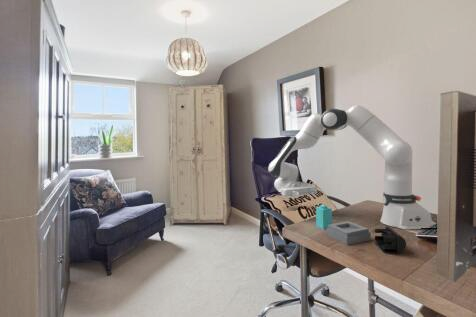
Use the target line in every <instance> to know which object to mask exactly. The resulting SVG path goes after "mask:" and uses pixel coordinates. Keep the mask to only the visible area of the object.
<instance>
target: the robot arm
mask: <svg viewBox="0 0 476 317" xmlns="http://www.w3.org/2000/svg"><path fill="white" fill-rule="evenodd" d="M348 126H349V127H351V128H352V129H353V130H354V131H356V133H357V134H358V135H359V136H361V137H362V138H363V139H364V140H365V141H366V142H367V143H368V144H370V146H371V147H372V149H374V150H375V151H376V152H377V153H378V154H379V155H380V156H381V157H382V158H383V159H384V175H383V177H384V178H383V179H384V180H383V182H384V183H383V184H384V186H383V187H384V191H383V193H382V194H383V195H382V203H383V208H382V209H383V210H382V212H381V214H382V215H381V218H380V222H381V223H382V224H384V225H386V226H388V227H394V228H399V229H402V230H407V231H408V230H409V231H410V230H422V229H421V228H427V227H429V226H431V225H433V224H437V222H435V221H433V220H432V215H431V213H430V211H429V210H427V208H424V206H423V205H421V204H419V203H418V202H420V201H421V200H422V197H421V196H419V195H415V194H413V149H412V148H413V147H412V146H411V144H410V143H408V141H406V140H404V139H403V138H401V137H400V136H399V135H398V134H397V133H396V132H394V130H393V129H391V127H389V126H388V125H387V124H386V123H385V122H383V121H382V120H381V119H380V118H379V117H378V116H377V115H376V114H374V113H373V112H371V111H370V110H369V109H367V108H365V107H364V106H362V105H360V104H355V105H352V106H350V107H349V108H348V109H347V110H344V109H339V108H329V109H326V110H325V111H323V113H322V114H319V113H312V114H310V116H309V117H307V119H306V121H305V122H304V124H303V125H302V127H301V129H300V130H299V131H298V132H297V134H296V135H294V136H292V137H290V138H289V139H288V140H287V141H286V143H285V144H283V146H282V148H281V149H280V151H278V154H276V156H275V157H274V159H272V160H271V162H270V163H268V168H267V171H268V174H269V175H270V176H271V177H272V178H276V179H275V180H274V183H273V185H274V186H273V187H274V189H276V191H277V192H278V193H280V195H282V196H283V197H292V198H296V197H300V196H302V195H311V194H312V195H316V194H318V186H316V185H314V184H311V183H308V182H307V181H298V180H299V177H300V169H299V167H298V165H296V164H293V163H290V162H289V163H288V162H286V160H287V158H288V157H289V156H290V154H291V153H292V152H294V151H299V150H305V149H306V150H307V149H311V148H313V147H314V146H316V144H317V143H318V142H319V140H320V138H321V137H322V134H323V133H324V132H325V130H329V131H340V130H341V131H342V130H343V129H346V128H347V127H348Z"/></svg>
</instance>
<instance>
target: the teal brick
mask: <svg viewBox="0 0 476 317" xmlns="http://www.w3.org/2000/svg"><path fill="white" fill-rule="evenodd" d="M329 224H333V209H332V207H329V206H328V205H326V204H321V205H320V206H316V207H315V225H316V227H318V228H319V229H322V230H325V229H326V228H328V225H329Z"/></svg>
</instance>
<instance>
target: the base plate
mask: <svg viewBox="0 0 476 317" xmlns="http://www.w3.org/2000/svg"><path fill="white" fill-rule="evenodd" d="M325 233H326V234H325V235H326V236H328V237H329V238H332V239H334V240H336V241H338V242H340V243H343V244H344V245H346V246H349V245H353V244H359V243H363V242H367V241H371V239H372V238H371V237H372V236H371V235H372V234H371V232H370V230H369V228H368V227H365V226H362V225H359V224H357V223H354V222H352V221H349V220H346V221H342V222H335V223H332V224H329V225H328V228H326V231H325Z"/></svg>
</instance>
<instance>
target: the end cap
mask: <svg viewBox="0 0 476 317" xmlns="http://www.w3.org/2000/svg"><path fill="white" fill-rule="evenodd" d="M374 233H375V234H380V235H374V241H375V243H374V244H375V245H376V246H377V247H378V248H379V249H380V251H382V252H383V254H390V255H391V254H393V255H395V254H399V253H401V252H403V251H404V250H406V247H407V241H406V238H404V237H403V236H402V235H400V234H399V233H398V232H396V231H395V230H394V229H393V228H391V226H385V228H374Z"/></svg>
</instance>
